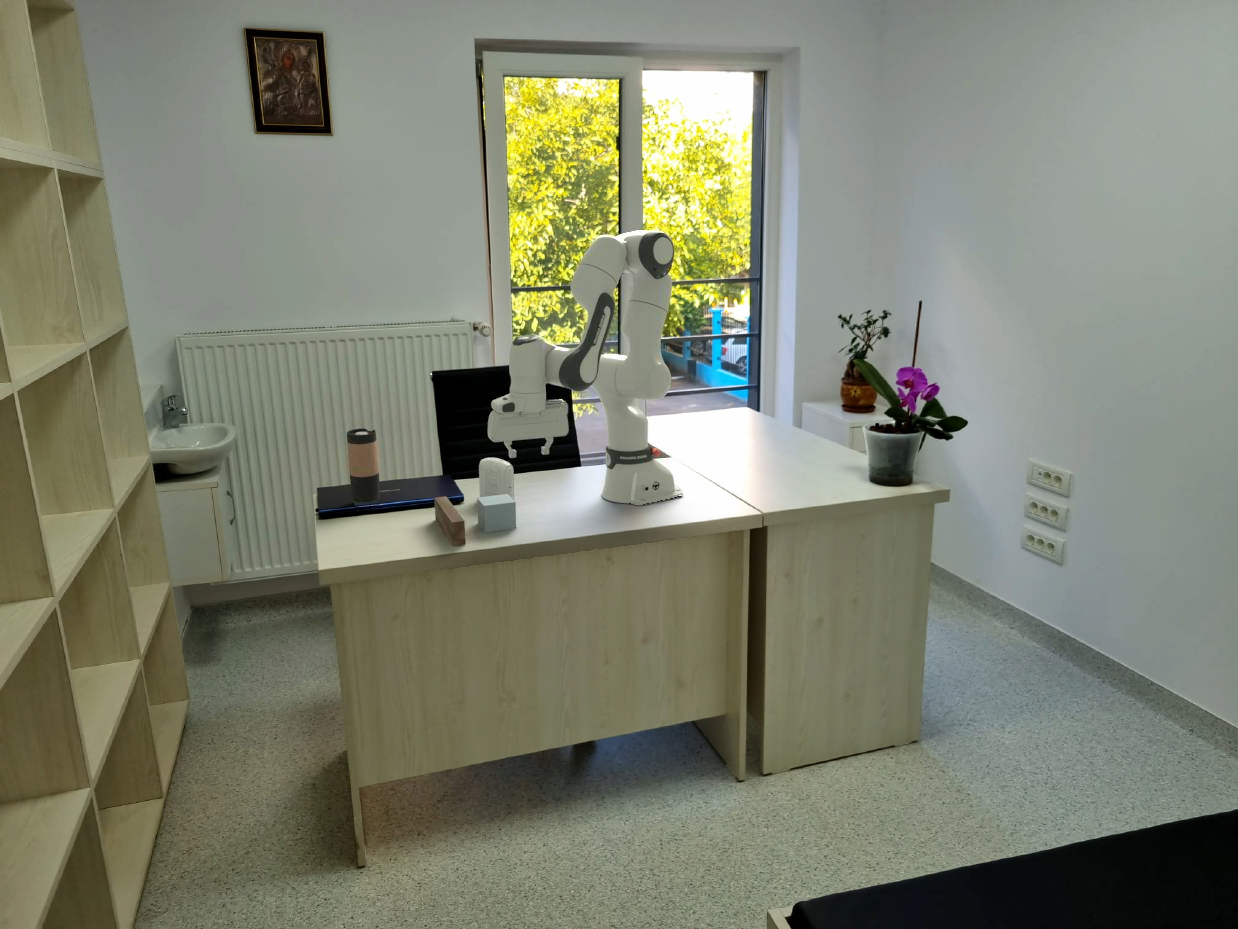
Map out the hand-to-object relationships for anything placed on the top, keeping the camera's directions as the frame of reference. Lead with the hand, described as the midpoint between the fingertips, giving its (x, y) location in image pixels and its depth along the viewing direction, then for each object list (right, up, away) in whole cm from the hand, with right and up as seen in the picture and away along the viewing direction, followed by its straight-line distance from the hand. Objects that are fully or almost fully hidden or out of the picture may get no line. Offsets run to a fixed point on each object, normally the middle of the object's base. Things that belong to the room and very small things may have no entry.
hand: (529, 455), depth 236 cm
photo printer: (-10, -13, +19) cm, 25 cm away
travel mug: (-46, -13, +18) cm, 51 cm away
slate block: (-8, -18, +2) cm, 20 cm away
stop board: (-19, -19, -3) cm, 27 cm away
